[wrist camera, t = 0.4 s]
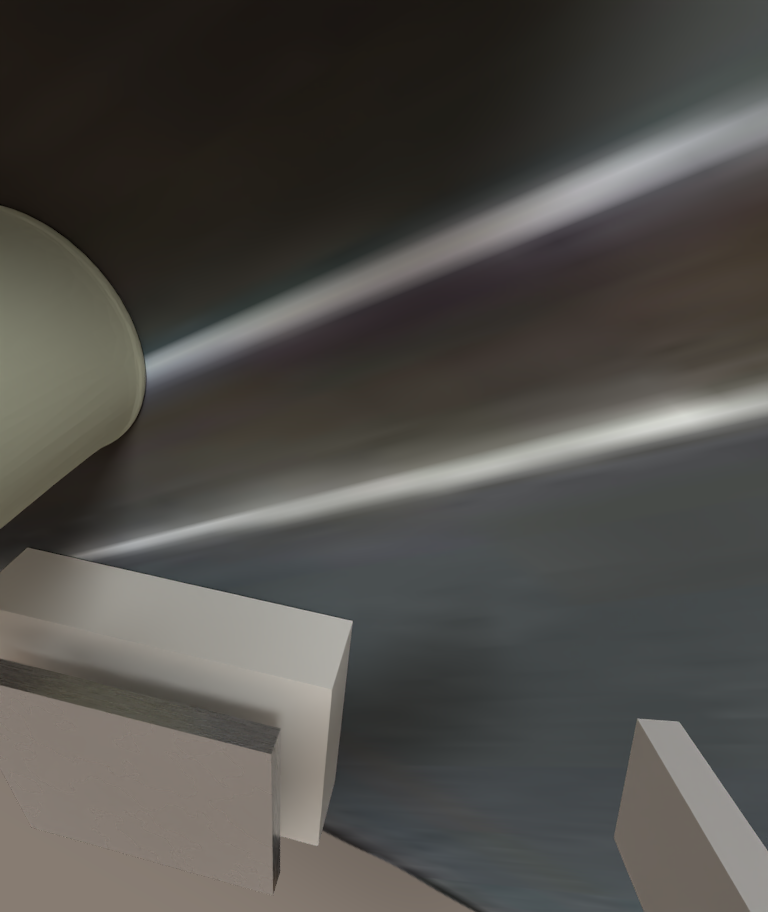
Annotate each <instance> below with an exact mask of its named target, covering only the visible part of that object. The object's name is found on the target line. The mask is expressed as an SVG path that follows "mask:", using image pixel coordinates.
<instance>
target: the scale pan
mask: <svg viewBox="0 0 768 912" xmlns="http://www.w3.org/2000/svg"><path fill="white" fill-rule="evenodd" d="M0 770H1V771H2V773H3V775H4V777H5V779H6V781H7V783H8V785H9V786H10V788H11V790H12V792H13V794H14V796H15V798H16V800H17V801H18V803H19V805H20V807H21V809H22V811H23V813H24V815H25V817H26V818H27V820H28V822H29V824H30V826H31V828H34V829H38V830H41V831H45V832H49V833H52V834H56V835H59V836H63V837H66V838H70V839H74V840H77V841H80V842H85V843H88V844H91V845H95V846H98V847H102V848H105V849H109V850H112V851H116V852H119V853H123V854H127V855H130V856H134V857H137V858H141V859H145V860H148V861H152V862H155V863H159V864H162V865H166V866H169V867H173V868H176V869H180V870H183V871H187V872H190V873H194V874H198V875H201V876H205V877H208V878H212V879H215V880H219V881H223V882H226V883H230V884H233V885H237V886H240V887H244V888H247V889H251V890H254V891H258V892H262V893H265V894H269V895H273V894H274V891H275V887H276V884H277V881H278V877H279V874H280V778H281V728H277V727H273V726H269V725H265V724H261V723H257V722H253V721H249V720H245V719H241V718H237V717H233V716H229V715H225V714H221V713H217V712H213V711H209V710H205V709H201V708H197V707H193V706H189V705H185V704H181V703H177V702H173V701H169V700H165V699H161V698H157V697H153V696H149V695H145V694H141V693H137V692H133V691H129V690H125V689H121V688H117V687H113V686H109V685H105V684H101V683H97V682H93V681H89V680H85V679H81V678H77V677H73V676H69V675H65V674H61V673H57V672H53V671H49V670H44V669H40V668H36V667H32V666H28V665H24V664H20V663H16V662H12V661H8V660H4V659H0Z"/></svg>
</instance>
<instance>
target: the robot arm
mask: <svg viewBox="0 0 768 912" xmlns="http://www.w3.org/2000/svg"><path fill="white" fill-rule="evenodd" d="M614 839H615V842H616V844H617V847H618V849H619V851H620V854H621V856H622V859H623V861H624V864H625V866H626V869H627V871H628V874H629V876H630V879H631V881H632V884H633V886H634V888H635V891H636V893H637V896H638V898H639V901H640V903H641V906H642V908H643V911H644V912H768V851H767V849H766V848H765V847H764V845H763V844H762V842H761V841H760V839H759V838H758V836H757V835H756V833H755V832H754V830H753V829H752V828H751V826H750V825H749V823H748V822H747V820H746V819H745V817H744V816H743V814H742V813H741V812H740V810H739V809H738V807H737V806H736V804H735V803H734V801H733V800H732V798H731V797H730V795H729V794H728V793H727V791H726V790H725V788H724V787H723V785H722V784H721V782H720V781H719V779H718V778H717V776H716V775H715V774H714V772H713V771H712V769H711V768H710V766H709V765H708V763H707V762H706V760H705V759H704V758H703V756H702V755H701V753H700V752H699V750H698V749H697V747H696V746H695V744H694V743H693V741H692V740H691V739H690V737H689V736H688V734H687V733H686V731H685V730H684V728H683V727H682V725H681V724H680V722H676V721H662V720H648V719H637V723H636V728H635V733H634V738H633V743H632V748H631V753H630V759H629V764H628V769H627V774H626V779H625V784H624V789H623V794H622V799H621V804H620V809H619V814H618V820H617V825H616V830H615V835H614Z"/></svg>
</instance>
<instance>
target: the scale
mask: <svg viewBox="0 0 768 912" xmlns="http://www.w3.org/2000/svg"><path fill="white" fill-rule="evenodd" d="M352 624H353V621H350V620H346V619H341V618H337V617H333V616H328V615H324V614H319V613H315V612H311V611H306V610H302V609H297V608H293V607H288V606H284V605H280V604H275V603H271V602H266V601H262V600H257V599H253V598H249V597H244V596H240V595H235V594H231V593H227V592H222V591H218V590H213V589H209V588H204V587H200V586H196V585H191V584H187V583H182V582H178V581H173V580H169V579H165V578H160V577H156V576H151V575H147V574H142V573H138V572H134V571H129V570H125V569H120V568H116V567H112V566H107V565H103V564H98V563H94V562H89V561H85V560H81V559H76V558H72V557H67V556H63V555H58V554H54V553H50V552H45V551H41V550H36V549H32V548H26V549H25V550H24V551H23V552H22V553H21V554H20V555H19V556H18V557H16V558H15V559H14V560H13V561H12V562H11V563H10V564H9V565H8V566H7V567H5V568H4V569H3V570H2V571H1V572H0V659H4V660H8V661H12V662H16V663H20V664H24V665H28V666H32V667H36V668H40V669H44V670H49V671H53V672H57V673H61V674H65V675H69V676H73V677H77V678H81V679H85V680H89V681H93V682H97V683H101V684H105V685H109V686H113V687H117V688H121V689H125V690H129V691H133V692H137V693H141V694H145V695H149V696H153V697H157V698H161V699H165V700H169V701H173V702H177V703H181V704H185V705H189V706H193V707H197V708H201V709H205V710H209V711H213V712H217V713H221V714H225V715H229V716H233V717H237V718H241V719H245V720H249V721H253V722H257V723H261V724H265V725H269V726H273V727H277V728H281V778H280V836H282V837H286V838H289V839H293V840H297V841H300V842H304V843H308V844H312V845H315V846H318V844H319V840H320V837H321V833H322V829H323V825H324V821H325V817H326V813H327V809H328V806H329V802H330V798H331V794H332V790H333V786H334V782H335V776H336V767H337V758H338V749H339V740H340V731H341V723H342V714H343V705H344V696H345V687H346V678H347V669H348V660H349V651H350V642H351V633H352Z"/></svg>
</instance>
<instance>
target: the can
mask: <svg viewBox="0 0 768 912" xmlns="http://www.w3.org/2000/svg"><path fill="white" fill-rule="evenodd" d="M145 383H146V376H145V364H144V357H143V352H142V348H141V344H140V341H139V338H138V334H137V332H136V329H135V327H134V325H133V322H132V320H131V318H130V315H129V313H128V312H127V310H126V308H125V306H124V304H123V303H122V301H121V299H120V297H119V296H118V294H117V293H116V291H115V290H114V288H113V287H112V286H111V284H110V283H109V282H108V281H107V279H106V278H105V277H104V275H103V274H102V273H101V271H100V270H99V269H98V268H97V267H96V266H95V265H94V264H93V263H92V262H91V261H90V260H89V259H88V257H87V256H86V255H85V254H84V253H82V252H81V251H80V250H79V249H78V248H77V247H76V246H74V245H73V244H72V243H71V242H70V241H69V240H67V239H66V238H65V237H63V236H62V235H60V234H59V233H58V232H56V231H55V230H53V229H52V228H50V227H49V226H47V225H45V224H44V223H42V222H40V221H38V220H36V219H34V218H32V217H30V216H28V215H27V214H24V213H22V212H19V211H16V210H14V209H11V208H7V207H4V206H0V529H1V528H2V527H3V526H4V525H6V524H7V523H8V522H9V521H11V520H12V519H13V518H14V517H15V516H17V515H18V514H19V513H20V512H21V511H23V510H24V509H25V508H26V507H28V506H29V505H30V504H31V503H32V502H34V501H35V500H36V499H37V498H39V497H40V496H41V495H42V494H43V493H45V492H46V491H47V490H48V489H49V488H51V487H52V486H53V485H54V484H56V483H57V482H58V481H59V480H61V479H62V478H63V477H64V476H66V475H67V474H68V473H69V472H71V471H72V470H73V469H74V468H76V467H77V466H78V465H79V464H81V463H82V462H83V461H84V460H86V459H87V458H88V457H90V456H91V455H92V454H94V453H95V452H96V451H98V450H99V449H100V448H102V447H105V446H106V445H108V444H110V443H112V442H114V441H115V440H117V439H118V438H120V437H121V436H122V435H123V434H124V433H125V432H126V431H127V430H128V429H129V428H130V426H131V425H132V424H133V422H134V421H135V419H136V417H137V415H138V413H139V411H140V408H141V405H142V402H143V398H144V393H145Z"/></svg>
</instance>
